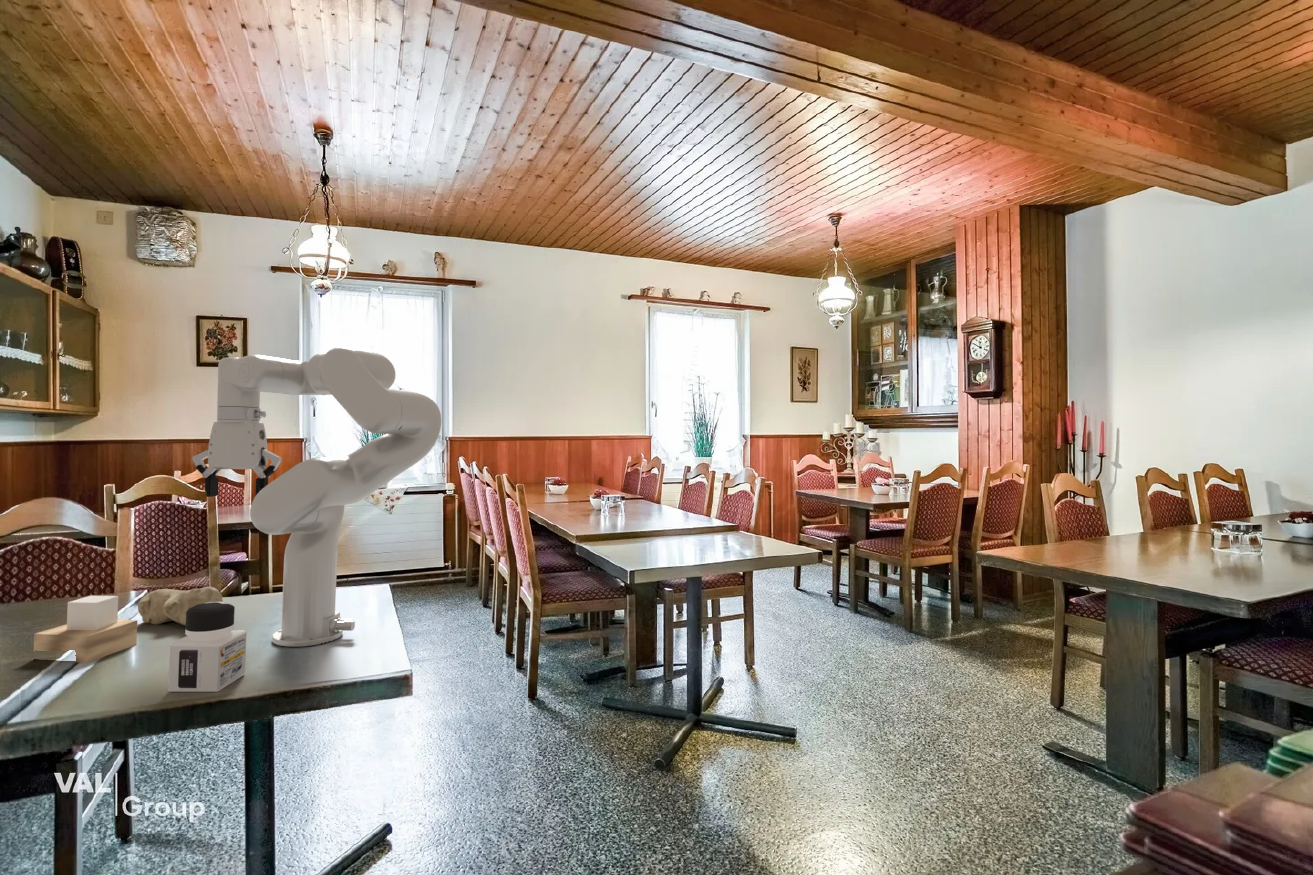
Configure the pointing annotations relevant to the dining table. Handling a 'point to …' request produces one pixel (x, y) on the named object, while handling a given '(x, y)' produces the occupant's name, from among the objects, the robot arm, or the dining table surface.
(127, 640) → the oak block
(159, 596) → the sculpture
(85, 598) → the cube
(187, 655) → the container
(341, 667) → the dining table surface
